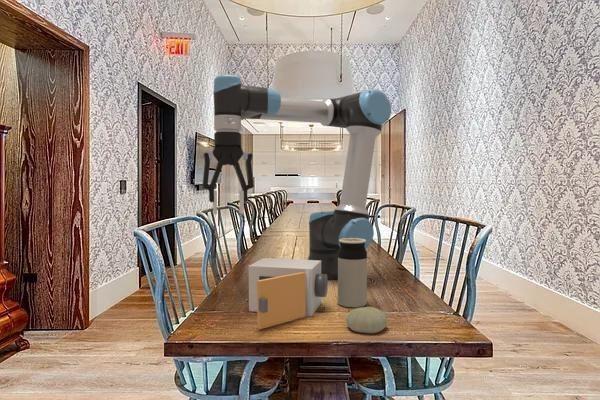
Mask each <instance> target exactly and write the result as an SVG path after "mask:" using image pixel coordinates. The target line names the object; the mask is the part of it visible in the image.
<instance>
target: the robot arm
mask: <svg viewBox="0 0 600 400" xmlns="http://www.w3.org/2000/svg"><path fill="white" fill-rule="evenodd" d="M213 81H214V82H213V92H212V93H213V113H214V114H213V125H214V126H213V130H214V131H215V132H214V133H213V134H214V135H213V136H214V137H213V138H214V140H213V141H214V142H213V143H214V144H213V145H214V146H213V150H212V151H210V152H204V153H203V155H202V157H203V160H204V166H203V177H202V187H201V188H203V189H205V190H208V200H209V202H210V203H212V208H213V210H212V214H213V215H218V191H217V190H215V188H216V186H217V185H216V184H217V182H218V179H219V176H220V174H221V171H222V169H223V166H233V168H234V171H235V174H236V176H237V178H238V182H239V184H240V187H241V190H239V195H238V197H239V214H241V215H243V214H245V205H244V204H245V202H247V201H248V190H250V189H253V188H254V187H255V185H254V175H253V168H252V167H253V166H252V160H253V154H252V153H248V152H244V151H243V148H242V133H241V131H242V121H243V120H267V121H284V122H299V123H316V124H318V123H319V124H321V125H322V126H323V127H331V128H332V127H333V128H341V129H345V130H346V131H347V132H348V133H349V139H348V145H347V146H348V147H347V153H346V159H345V160H346V161H345V166H344V167H345V168H344V173H343V174H344V175H343V180H342V187H341V194H340V200H339V205H337V206H336V207H335V208H334V210H327V211H325V210H324V211H317V212H315V211H314V212H312V213H310V215H309V218H308V219H309V220H308V225H309V227H308V228H309V230H308V231H309V233H308V234H309V235H308V236H309V237H308V238H309V240H308V243H309V247H308V249H309V254H308V257H307V260H320V261H321V274H327V278H328V280H338V250H339V249H340V247H341V246H340V242H339V240H340V239H343V238H360V239H365V240H366V242H365V249H366V250H367V249H368V248H369V246H370V245H371V243H372V242H373V238H374V235H375V231H374V226H373V224H372V223H371V221H370V220H369V218H370V213H369V211H368V210H367V209H366V207H367V202H368V193H369V185H370V179H371V174H372V173H371V172H372V165H373V157H374V151H375V144H376V139H377V137H378V136H380V135H381V134H382V128H383V125H384V124H386V123H387V122H388V121H389V120H390V118H391V116H392V106H391V101H390V99H389V98H388V96H387V95H386V94H385V92H383V91H381V90H380V89H376V88H375V89H374V88H373V89H372V88H371V89H365V90H363V91H360V92H357V93H352V94H349V95H346V96H340V97H335V98H327V97H326V98H323V99H322V100H314V99H304V98H291V97H290V98H289V97H282V96H281V94H280V91H279V90H277V89H276V88H271V87H263V86H262V87H261V86H252V85H245V84H243V83H242V79H241V77H240V76H238V75H235V74H220V75H217V76H215V78H214V79H213ZM213 156H214V158H215V159H216V161H217V163H216V164H217V165H216V168H215V170H214V173H213V176H212V178H211V180H210V184H209V177H210V176H209V175H210V165H211V160H212V158H213ZM242 157H243V160H244V162H245V170H246V180H245V177H244V174H243V171H242V169H241V166H240V163H239V161H240V159H241V158H242ZM246 181H247V182H246Z"/></svg>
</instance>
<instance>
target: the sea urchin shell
mask: <svg viewBox="0 0 600 400" xmlns="http://www.w3.org/2000/svg"><path fill="white" fill-rule="evenodd" d="M345 321H346V325H347V326H348V327H349V329H351V330H352V331H354V332H356V333H360V334H377V333H379V332H381V331H382V330H384V329H385V328H386V327H387V324H388V318H387V316H386V314H385V312H383V311H382V310H380V309H378V308H376V307H373V306H362V307H358V308H353V309H352V310H350V311H349V313H348V314H347V316H346V319H345Z"/></svg>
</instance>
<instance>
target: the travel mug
mask: <svg viewBox="0 0 600 400" xmlns="http://www.w3.org/2000/svg"><path fill="white" fill-rule="evenodd" d="M339 242H340V246H341V247H340V249H339V250H338V279H337V304H338V305H340V306H341V307H345V308H350V309H351V308H352V309H356V308H362V307H365V306H367V304H368V303H367V299H368V298H367V296H368V293H367V292H368V288H367V287H368V282H367V281H368V271H367V270H368V251H367V248H366V249H365V242H366V240H365V239H360V238H343V239H340V240H339Z"/></svg>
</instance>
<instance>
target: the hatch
mask: <svg viewBox="0 0 600 400" xmlns="http://www.w3.org/2000/svg"><path fill="white" fill-rule="evenodd" d="M256 313H257V314H256V315H257V319H256V320H257V323H256V325H257V328H258V329H263V328H267V327H271V326H276V325H277V324H283V323H285V322H290V321H293V320H296V319H301V318H304V317H306V273H305V272H300V273H295V274H289V275H284V276H279V277H274V278H268V279H263V280H258V281H257V312H256Z"/></svg>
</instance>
